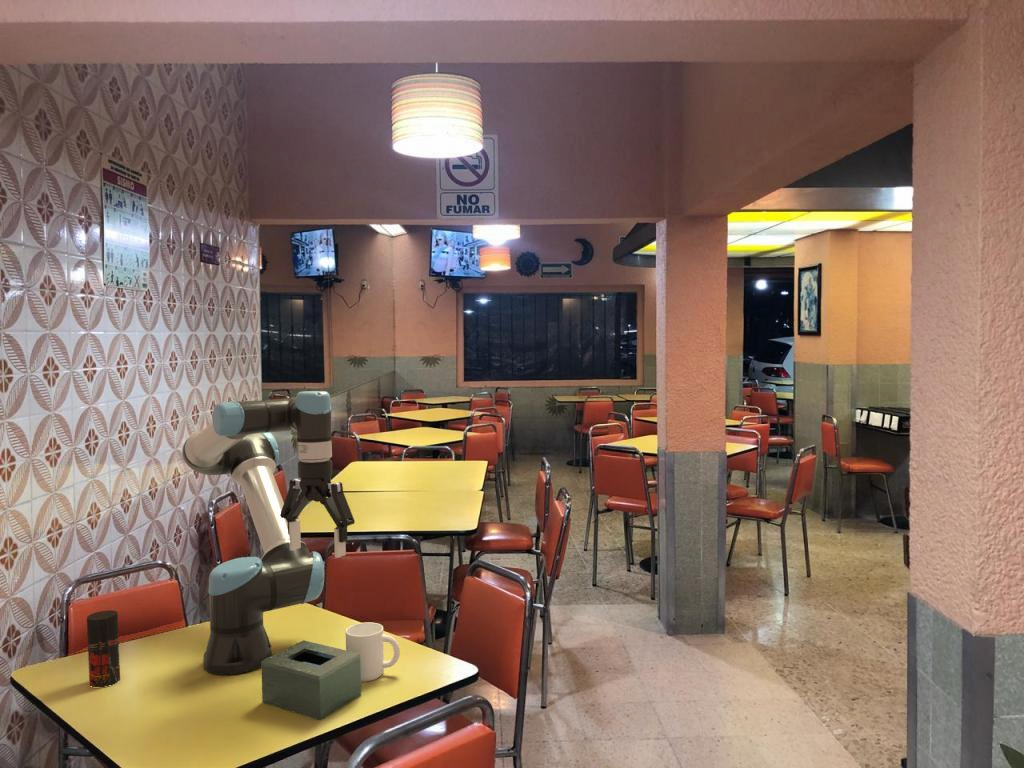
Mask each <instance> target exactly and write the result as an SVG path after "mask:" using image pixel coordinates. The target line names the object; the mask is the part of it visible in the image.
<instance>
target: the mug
mask: <svg viewBox="0 0 1024 768" xmlns="http://www.w3.org/2000/svg"><path fill="white" fill-rule="evenodd" d="M385 643H388V644H389V645H391V646H392V649H393V655H392V658H391V659H390V660H385V649H384V647H385V645H384V644H385ZM400 648H401V647H400V644H399V643H398V641H397V640H396V639H395V637H393V636H391V635H389V634H385V633H384V626H383V624H380V623H376V622H369V621H368V622H359V623H355V624H352V625H350V626H348V627H346V629H345V650H346V651H351V652H355V653H359V654H360V669H361V683H362V682H364V683H365V682H371V681H374V680H377V679H379V678H380V677H381V676H382V675H383V673H385V671H384V670H385V669H387V668H391V667H393V666H394V665H395V664H396V663H397V662H398V661H399V658H400V656H401V655H400V654H401V651H400V650H401V649H400Z"/></svg>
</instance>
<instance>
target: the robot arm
mask: <svg viewBox="0 0 1024 768" xmlns="http://www.w3.org/2000/svg"><path fill="white" fill-rule="evenodd" d="M331 403H332V402H331V395H330V393H329V392H328V391H324V390H308V391H306V390H305V391H299V392H297V394H296V395H295V397H286V398H278V399H266V400H265V399H264V400H240V401H234V400H231V401H227V402H218V403H217V404H216V405H214V408H213V411H212V414H211V415H212V422H210V424H209V425H207V426H205V428H204V429H203V430H199V431H196V432H194V433H193V434H191V435H190V436H189V437H188V438H187V439H186V440H185V441H184V443H183V447H182V448H181V449H182V450H181V451H182V452H181V454H182V457H183V458H182V459H183V461H184V462H185V464H186V465H187V467H188V468H190V469H191V470H192V471H194V472H196V473H199V474H202V475H205V476H206V475H207V476H221V475H222V476H223V475H230V476H231V478H232V481H233V482H234V483H235V484H237V485H239V486H240V487H241V490H242V492H243V495H244V498H245V501H246V504H247V507H248V509H249V512H250V514H251V515H250V516H251V519H252V521H253V524H254V527H255V530H256V533H257V535H258V539H259V542H260V545H261V547H262V551H263V554H262V556H261V558H260V557H257V556H246V557H243V556H242V557H236V558H233V559H231V560H227V561H225V562H224V561H223V562H222V563H220V564H218V565H217V566H216V567H214V568H213V569H212V570H211V572H210V574H209V577H208V589H207V592H208V596H209V597H208V599H209V602H208V603H209V623H210V624H209V625H210V630H209V631H210V634H209V638H208V641H207V645H206V649H205V652H204V654H203V656H202V657H203V658H202V662H203V663H202V664H203V665H202V666H203V670H204V671H206V672H207V673H210V674H214V675H221V676H223V675H224V676H228V675H238V674H239V675H240V674H243V673H248V672H251V671H255V670H258V669H259V668H260V669H261V661H262V660H264V659H266V658H268V657H270V656H272V655H273V647H272V644H271V642H270V639H269V636H268V633H267V631H266V629H265V626H264V625H265V624H264V613H266V612H271V611H274V610H278V609H283V608H287V607H288V608H289V607H292V606H296V605H303V604H305V603H309V602H311V601H315V600H317V599H318V598H319V597H320V596H321V594H322V592H323V589H324V583H325V566H324V561H323V558H322V556H321V554H320V553H319V552H317V551H311V552H310V551H309V547H308V545H307V544H306V543H305V542H304V541H302V539H301V520H300V517H299V516H300V515H301V514H302V512H303V510H304V509H305V508H306V506H307V504H308V503H309V502H311V501H312V502H313V501H314V502H316V503H320V505H323V506H324V508H325V510H326V511H327V512H328V514H329V516H330V518H331V519H332V521H333V522H334V524H335V528H333V530H334V533H333V535H334V558H336V559H338V558H341V557H343V556H346V555H347V554H346V553H347V550H346V548H347V546H346V542H347V541H348V527H349V526H352V525H354V524H355V523H356V522H355V518H354V515H353V513H352V511H351V509H350V506H349V503H348V500H347V498H346V495H345V492H344V486H343V482H341V481H338V482H334V483H332V481H331V477H332V475H333V461H332V460H331V458H332V457H333V447H332V445H333V443H332V404H331ZM291 431H295V432H296V443H297V458H298V459H299V460H298V462H297V476H298V478H292V479H290V480H289V484H288V485H289V486H288V488H289V489H288V491H287V494H286V497H285V500H283V496H282V494H281V492H280V489H279V486H278V484H277V481H276V479H275V476H274V473H275V471H276V468H277V466H278V465H279V462H280V461H279V459H280V453H279V450H278V449H279V445H278V442H277V440H276V438H275V437H274V435H273V433H278V432H279V433H280V432H281V433H282V432H291Z"/></svg>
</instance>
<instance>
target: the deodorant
mask: <svg viewBox="0 0 1024 768" xmlns="http://www.w3.org/2000/svg"><path fill="white" fill-rule="evenodd" d="M118 616H119V614H118V611H117V610H100V611H96V612H93V613H91V614H89V615H87V616H86V629H87V630H86V631H87V634H86V635H87V653H88V654H87V655H88V657H87V658H88V678H89V686H92V687H91V688H93V687H103V688H106V687H105V686H107V687H110V686H109V685H111V686H114V685H115V684H117V683H119V682H120V681H121V669H120V668H121V667H120V666H121V665H120V664H121V663H120V662H121V661H120V641H119V640H120V639H119V617H118ZM118 681H119V682H118ZM113 684H114V685H113Z"/></svg>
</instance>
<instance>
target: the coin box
mask: <svg viewBox="0 0 1024 768" xmlns="http://www.w3.org/2000/svg"><path fill="white" fill-rule="evenodd" d="M302 662H307V663H312V664H316V665H320V666H314V665H310V664H306V663H302ZM260 669H261V692H262V693H261V695H262V697H261V700H262V703H263V704H265V705H269V706H272V707H275V708H279V709H282V710H286V711H289V712H292V713H294V714H295V713H296V714H299V715H302V716H305V717H308V718H311V719H315V720H318V721H322V720H323V719H326V718H327V717H328V716H330V715H331V714H334V713H335V712H336V711H339V710H340V709H341V708H343V707H344V706H346V705H347V704H349V703H351V702H352V701H354V700H355V699H357V698H358V697H360V696H361V695H362V682H361V669H360V654H359V653H355V652H351V651H346V649H342V648H338V647H334V646H333V647H332V646H330V645H325V644H321V643H317V642H313V641H308V640H301V641H299V642H297V643H296V644H293V645H291V646H289V647H287V648H285V649H282V650H281V651H279V652H277V653H275V654H272V656H270V657H268V658H266V659H264V660H262V661H261V667H260Z"/></svg>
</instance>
